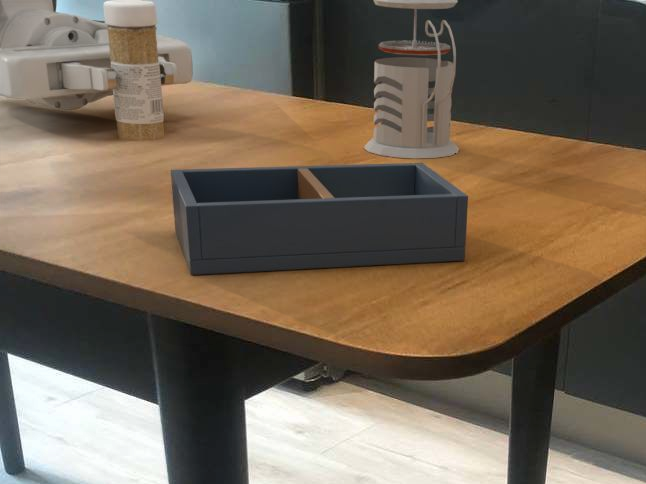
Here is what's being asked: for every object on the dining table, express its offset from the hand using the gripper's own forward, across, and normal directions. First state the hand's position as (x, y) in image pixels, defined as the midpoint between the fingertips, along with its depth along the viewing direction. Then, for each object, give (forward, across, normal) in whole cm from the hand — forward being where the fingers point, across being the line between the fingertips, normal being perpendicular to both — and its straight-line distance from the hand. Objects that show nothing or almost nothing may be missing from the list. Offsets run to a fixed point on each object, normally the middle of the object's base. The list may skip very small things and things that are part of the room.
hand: (141, 77), depth 99 cm
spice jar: (-1, 0, +7) cm, 7 cm away
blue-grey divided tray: (+32, -9, +7) cm, 34 cm away
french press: (+14, +23, +7) cm, 28 cm away
